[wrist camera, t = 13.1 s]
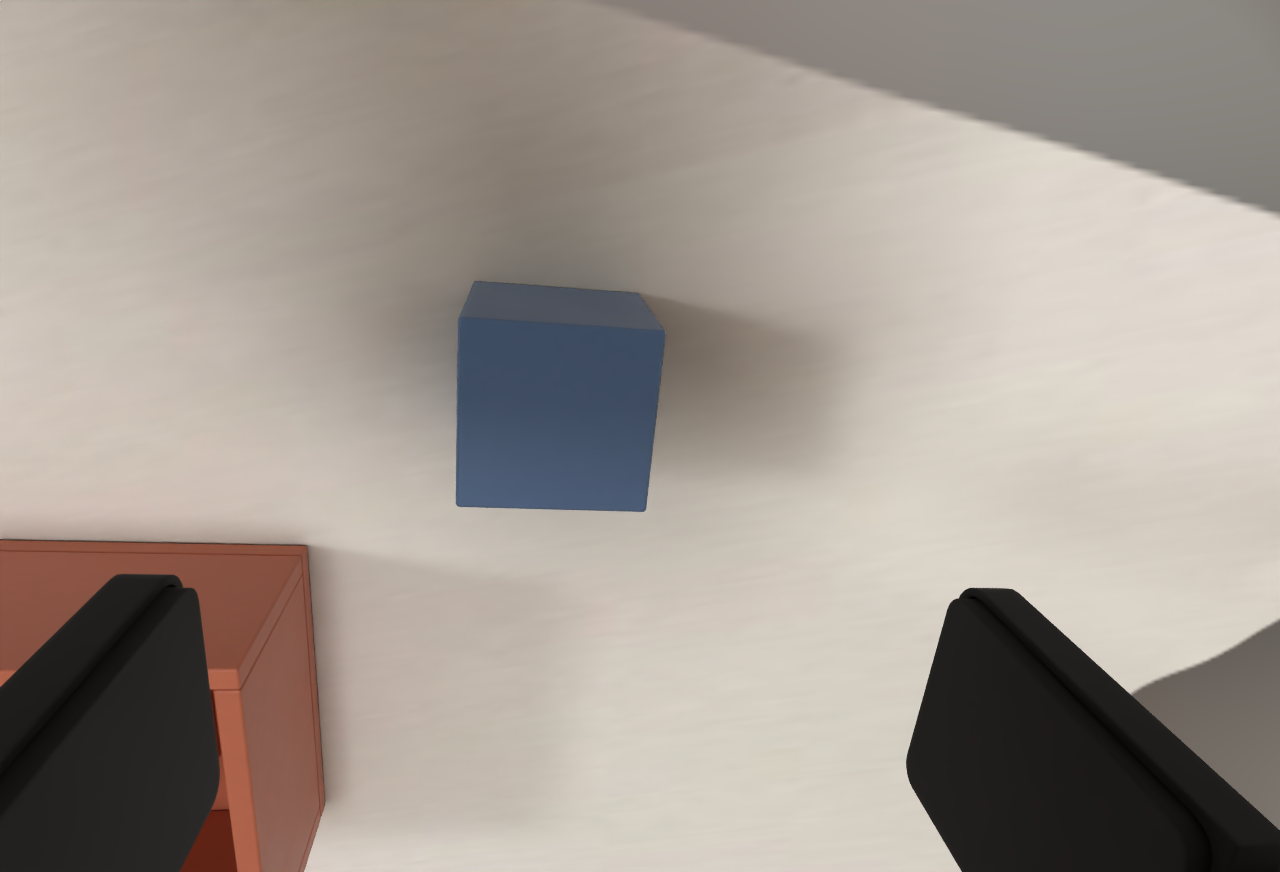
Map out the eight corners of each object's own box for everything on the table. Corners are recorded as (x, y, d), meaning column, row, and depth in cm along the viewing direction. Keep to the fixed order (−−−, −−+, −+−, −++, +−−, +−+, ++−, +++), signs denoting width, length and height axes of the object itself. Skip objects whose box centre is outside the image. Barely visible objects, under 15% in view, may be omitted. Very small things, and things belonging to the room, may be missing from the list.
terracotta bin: (-87, 537, 20) (-299, 672, 15) (307, 544, 22) (238, 669, 17) (-8, 816, 24) (-157, 1001, 19) (325, 804, 25) (273, 972, 20)
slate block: (473, 280, 20) (457, 316, 16) (639, 292, 20) (666, 330, 16) (470, 437, 21) (455, 508, 17) (624, 443, 22) (646, 513, 18)
